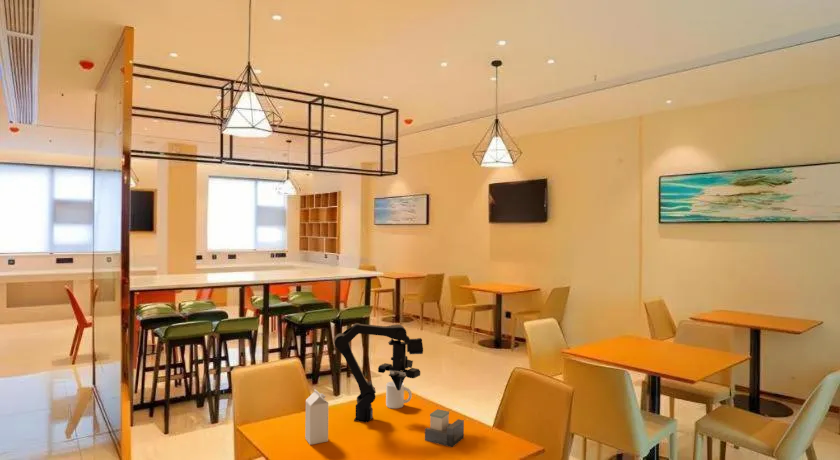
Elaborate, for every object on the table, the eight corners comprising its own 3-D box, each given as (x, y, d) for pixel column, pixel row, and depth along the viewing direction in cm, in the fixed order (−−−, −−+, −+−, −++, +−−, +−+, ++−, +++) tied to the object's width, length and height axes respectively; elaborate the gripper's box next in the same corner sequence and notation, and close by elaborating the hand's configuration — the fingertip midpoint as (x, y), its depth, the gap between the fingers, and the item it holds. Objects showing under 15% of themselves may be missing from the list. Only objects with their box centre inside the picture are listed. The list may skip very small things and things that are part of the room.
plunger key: (429, 435, 196) (430, 413, 196) (437, 429, 201) (437, 409, 201) (441, 437, 193) (441, 416, 193) (448, 432, 199) (449, 411, 199)
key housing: (424, 440, 195) (425, 422, 195) (436, 431, 204) (437, 414, 204) (452, 447, 189) (452, 428, 189) (463, 438, 198) (463, 420, 198)
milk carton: (309, 445, 189) (310, 395, 189) (305, 438, 196) (305, 389, 196) (328, 441, 193) (328, 392, 193) (322, 435, 199) (323, 387, 199)
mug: (412, 403, 237) (412, 381, 237) (410, 409, 228) (411, 387, 228) (387, 402, 238) (387, 380, 238) (384, 408, 229) (385, 386, 229)
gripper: (426, 353, 221) (426, 388, 221) (391, 348, 230) (391, 382, 230) (413, 359, 211) (413, 395, 211) (377, 353, 221) (377, 388, 220)
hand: (398, 390), depth 218 cm, fingers closed
